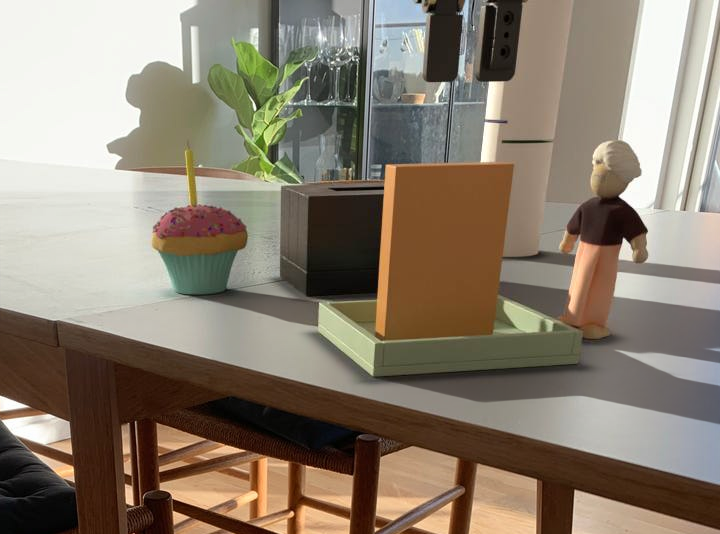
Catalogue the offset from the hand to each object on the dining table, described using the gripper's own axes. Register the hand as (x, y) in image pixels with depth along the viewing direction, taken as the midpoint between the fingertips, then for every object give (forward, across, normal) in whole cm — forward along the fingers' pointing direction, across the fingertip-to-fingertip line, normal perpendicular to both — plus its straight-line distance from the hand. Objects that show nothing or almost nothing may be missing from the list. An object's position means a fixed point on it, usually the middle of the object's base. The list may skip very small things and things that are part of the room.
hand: (464, 81), depth 59 cm
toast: (+15, 0, +1) cm, 16 cm away
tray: (+16, 0, 0) cm, 16 cm away
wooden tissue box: (+16, +25, -3) cm, 30 cm away
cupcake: (+16, +25, +13) cm, 32 cm away
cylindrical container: (+17, +39, -23) cm, 48 cm away
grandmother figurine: (+16, +1, -12) cm, 20 cm away
